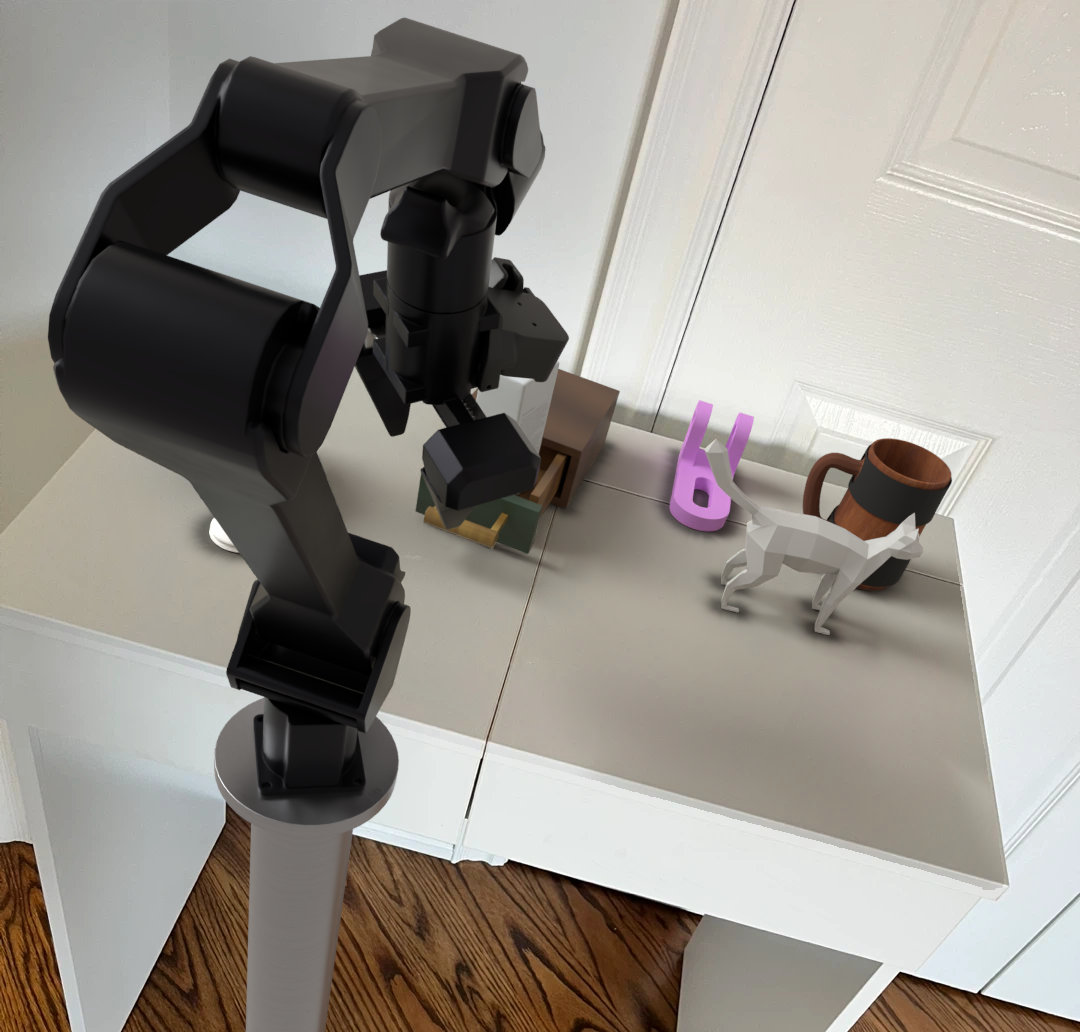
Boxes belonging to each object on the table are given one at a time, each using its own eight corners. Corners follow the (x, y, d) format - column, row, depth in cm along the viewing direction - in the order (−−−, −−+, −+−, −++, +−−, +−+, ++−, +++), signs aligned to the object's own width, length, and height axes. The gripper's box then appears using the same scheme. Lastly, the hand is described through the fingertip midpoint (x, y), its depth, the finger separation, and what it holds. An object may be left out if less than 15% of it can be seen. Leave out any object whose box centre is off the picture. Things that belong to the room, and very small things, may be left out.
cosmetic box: (492, 465, 92) (518, 340, 84) (532, 485, 91) (562, 361, 83) (457, 492, 88) (480, 363, 79) (498, 513, 87) (527, 385, 79)
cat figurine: (875, 650, 88) (955, 516, 79) (654, 593, 87) (708, 450, 77) (869, 618, 92) (946, 486, 82) (657, 563, 90) (709, 422, 81)
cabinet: (565, 509, 93) (582, 451, 89) (449, 465, 94) (460, 406, 90) (604, 445, 103) (620, 390, 99) (498, 406, 104) (510, 350, 100)
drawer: (511, 581, 82) (522, 538, 79) (394, 536, 83) (400, 492, 80) (569, 486, 94) (580, 446, 92) (466, 448, 95) (474, 406, 92)
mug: (782, 517, 101) (830, 411, 93) (897, 556, 100) (956, 453, 92) (774, 563, 94) (825, 454, 86) (897, 605, 94) (960, 500, 86)
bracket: (678, 455, 105) (700, 393, 100) (730, 470, 105) (754, 410, 100) (666, 520, 96) (689, 456, 91) (723, 537, 96) (749, 474, 91)
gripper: (641, 358, 56) (588, 544, 69) (491, 166, 64) (468, 366, 77) (460, 403, 52) (441, 591, 65) (322, 192, 60) (330, 399, 73)
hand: (423, 479), depth 70 cm, fingers open, 9 cm apart
